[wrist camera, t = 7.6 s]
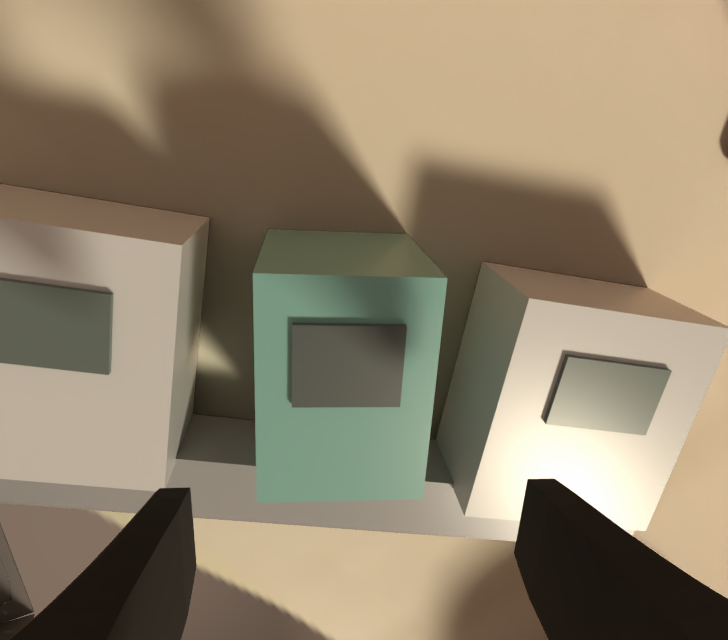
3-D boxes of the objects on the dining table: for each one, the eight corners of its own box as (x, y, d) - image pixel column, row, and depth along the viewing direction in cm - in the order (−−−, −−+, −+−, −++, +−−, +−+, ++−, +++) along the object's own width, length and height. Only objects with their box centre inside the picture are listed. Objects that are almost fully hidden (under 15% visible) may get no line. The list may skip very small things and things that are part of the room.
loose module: (406, 233, 20) (449, 280, 14) (392, 402, 22) (424, 503, 16) (268, 228, 19) (252, 275, 13) (269, 403, 21) (255, 507, 16)
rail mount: (671, 291, 21) (765, 335, 17) (590, 500, 25) (651, 583, 20) (-45, 176, 17) (-163, 195, 13) (-27, 446, 21) (-117, 534, 16)
